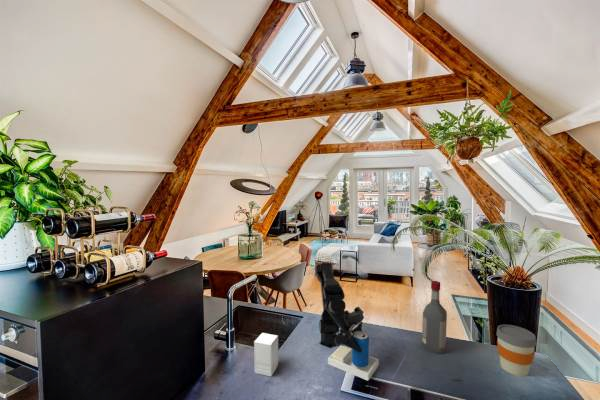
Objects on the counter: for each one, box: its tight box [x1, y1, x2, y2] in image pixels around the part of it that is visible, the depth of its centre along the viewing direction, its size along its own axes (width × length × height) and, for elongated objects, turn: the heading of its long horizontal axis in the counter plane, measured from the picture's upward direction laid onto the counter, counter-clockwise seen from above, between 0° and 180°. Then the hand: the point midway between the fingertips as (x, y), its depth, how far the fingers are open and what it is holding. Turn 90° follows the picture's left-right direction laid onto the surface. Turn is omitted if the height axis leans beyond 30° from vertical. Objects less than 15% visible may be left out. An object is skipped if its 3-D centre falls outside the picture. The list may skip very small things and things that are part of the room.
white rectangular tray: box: [327, 345, 380, 381], centre depth 114 cm, size 17×11×3 cm, turn 55°
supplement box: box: [253, 332, 279, 377], centre depth 112 cm, size 7×7×13 cm
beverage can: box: [351, 331, 370, 368], centre depth 112 cm, size 6×6×12 cm
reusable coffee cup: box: [495, 324, 537, 377], centre depth 113 cm, size 13×12×15 cm
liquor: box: [421, 280, 448, 355], centre depth 127 cm, size 9×9×30 cm
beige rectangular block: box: [331, 345, 352, 364], centre depth 117 cm, size 5×8×4 cm, turn 145°
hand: (363, 347), depth 112 cm, fingers open, 6 cm apart
